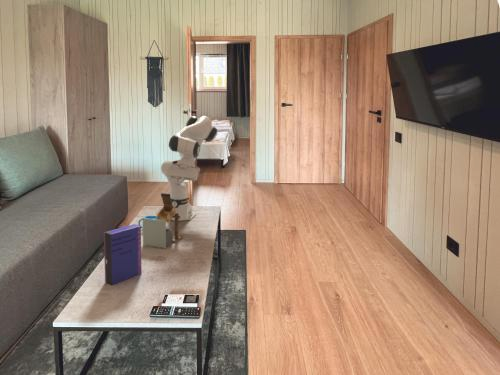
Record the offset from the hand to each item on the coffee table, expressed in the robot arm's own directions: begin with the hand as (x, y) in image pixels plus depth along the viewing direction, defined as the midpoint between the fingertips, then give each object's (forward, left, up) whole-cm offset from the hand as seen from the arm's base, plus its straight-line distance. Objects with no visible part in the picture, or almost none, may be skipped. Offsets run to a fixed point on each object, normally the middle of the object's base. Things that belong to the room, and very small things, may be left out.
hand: (178, 184), depth 296 cm
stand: (+14, +1, -30) cm, 33 cm away
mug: (+3, -19, -30) cm, 36 cm away
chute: (+15, +1, -17) cm, 23 cm away
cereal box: (+75, +10, -30) cm, 81 cm away
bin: (+25, +1, -30) cm, 39 cm away
